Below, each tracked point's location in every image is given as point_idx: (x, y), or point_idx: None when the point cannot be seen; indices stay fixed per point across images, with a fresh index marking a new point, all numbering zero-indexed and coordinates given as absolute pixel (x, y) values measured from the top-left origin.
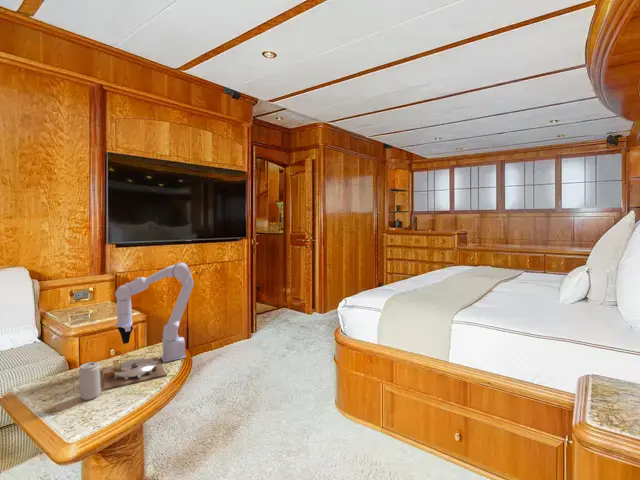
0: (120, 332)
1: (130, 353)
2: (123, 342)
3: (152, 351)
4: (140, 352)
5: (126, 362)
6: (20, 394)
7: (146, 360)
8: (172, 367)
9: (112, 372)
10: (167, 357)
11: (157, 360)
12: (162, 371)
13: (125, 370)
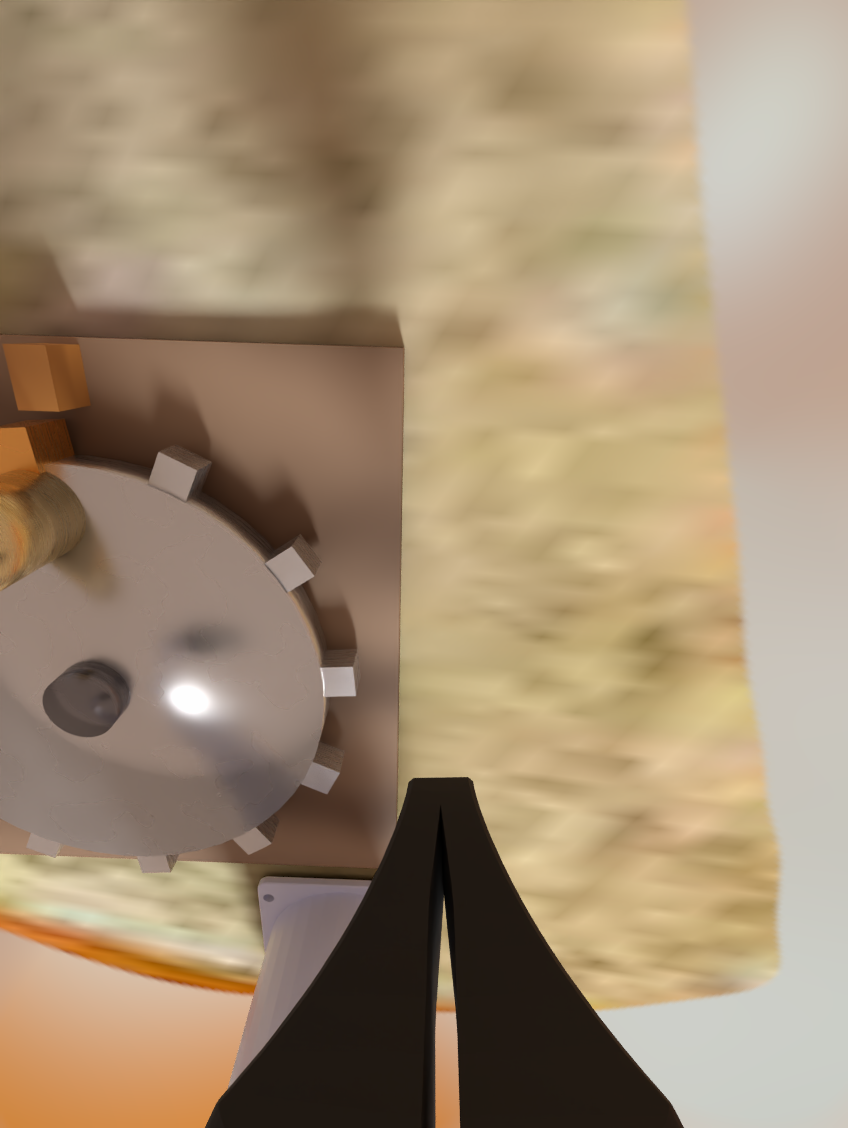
0: (240, 1079)
1: (739, 685)
2: (407, 801)
3: (625, 851)
4: (686, 766)
5: (271, 633)
6: None
7: (225, 803)
8: (121, 897)
9: (5, 454)
10: (277, 932)
11: (301, 853)
12: (8, 839)
13: (6, 594)
